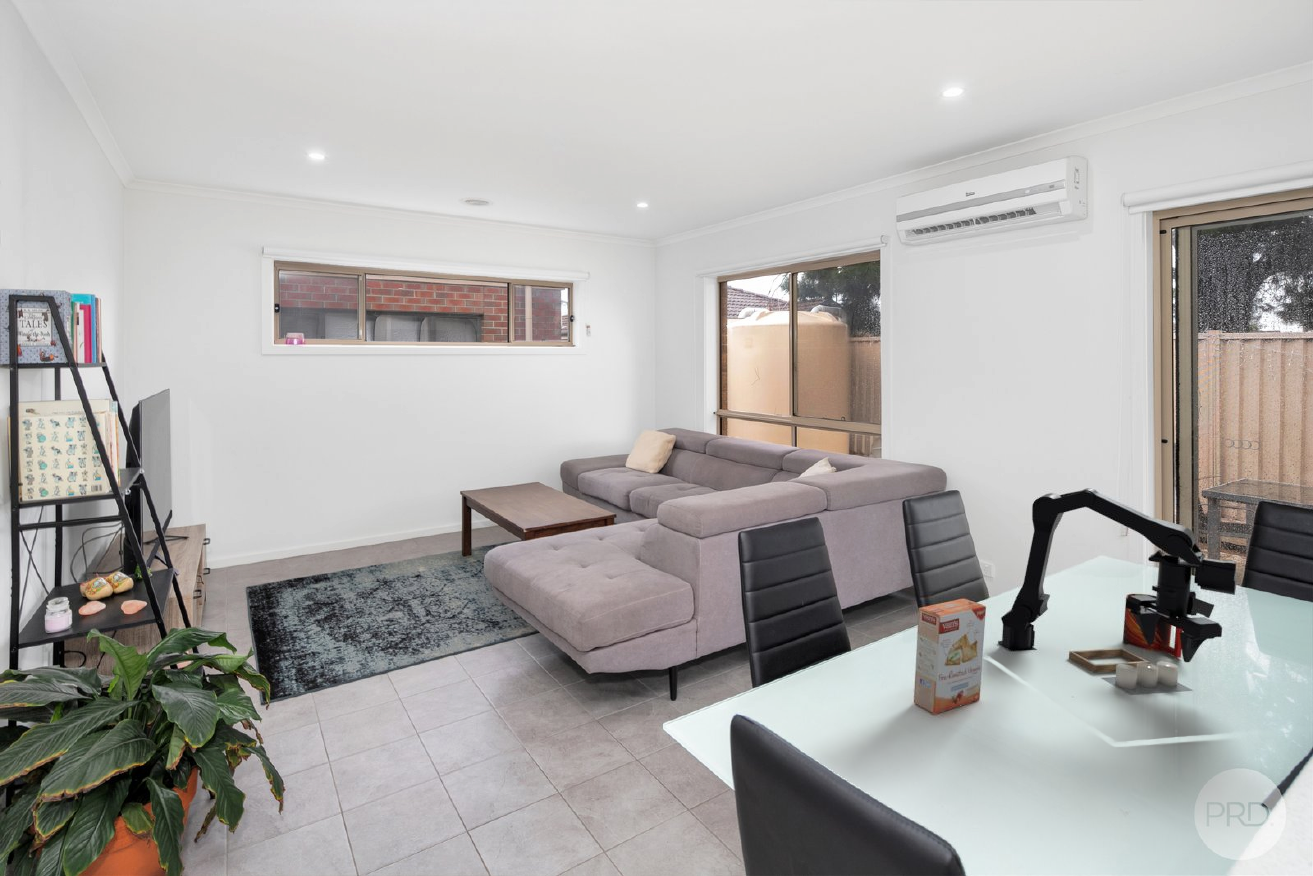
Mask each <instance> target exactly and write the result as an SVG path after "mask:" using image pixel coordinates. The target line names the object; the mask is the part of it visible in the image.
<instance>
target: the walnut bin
mask: <svg viewBox="0 0 1313 876" xmlns="http://www.w3.org/2000/svg"><path fill="white" fill-rule="evenodd" d="M1115 657H1122V658H1124V659H1126V660H1128V661H1127V662H1126V661H1125V662H1124V661H1123V662H1111V663H1097V664H1095V663H1094V662H1092V661H1090V660H1089V659H1096V658H1097V659H1099V658H1115ZM1068 659H1070V660H1071V661H1073V662H1075V663H1076V664H1078V665H1079V666H1081V667H1083V668H1085V669H1087V670H1089V671H1090V672H1092V673H1094V674H1098V673H1114V672H1115V673H1116V666H1117V665H1118V664H1126V665H1130V666H1133V667H1135V668H1137V663H1148V664H1151V661H1148V660H1147V659H1144V658H1143V657H1140V656H1138V655H1136V653H1134V652H1133V653H1132V652H1131V651H1128V650H1127V649H1124V648H1123V647H1117V648H1105V649H1104V648H1102V649H1085V650H1070V651H1068Z"/></svg>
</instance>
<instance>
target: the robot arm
mask: <svg viewBox="0 0 1313 876" xmlns="http://www.w3.org/2000/svg"><path fill="white" fill-rule="evenodd" d="M1031 505H1032V506H1031V507H1032V508H1031V521H1032V526H1033V535H1032V540H1031V544H1030V549H1029V554H1028V560H1027V565H1026V568H1025V573H1024V580H1023V584H1022V586H1021V587H1020V590H1019V591H1018V593H1017V595H1016V596H1015V600H1014V602H1013V604H1012V606H1011V609H1010V610H1009V611H1007V612H1005V614H1004V615H1002V616H1001V618H1000V620H1001V622H1002V639H1001V640H998V641H997V644H999V645H1000V646H1002V647H1004V648H1005V649H1007V650H1008V651H1010V652H1026V651H1037V650H1038V649H1037V648H1036V647H1034V646H1035V640H1036V639H1035V638H1036V637H1035V636H1036V634H1035V633H1036V630H1035V629H1034V628H1035V625H1034V624H1032V623H1034V622H1036V620H1038V619H1039V618H1040V617H1041V616H1043V615H1044V614H1045V612H1047V610H1049V608H1048V601H1049V599H1050V597H1051V594H1049V593H1048V594H1047V593H1045V592H1044V591H1045V590H1044V582H1045V578H1046V572H1047V567H1048V562H1049V558H1050V552H1051V549H1052V542H1053V539H1054V533H1055V531H1056V530H1057V527H1058V525H1059V524H1060V523H1061V520H1062V518H1063V515H1064V514H1065V513H1067V512H1071V511H1074V510H1079V509H1084V508H1088V509H1089V510H1092V511H1093V512H1095V513H1097V514H1100V515H1101V516H1104V517H1106V518H1108V519H1110V520H1112V521H1114V522H1116V523H1118V524H1120V525H1122V526H1124V527H1126V528H1129V529H1131V530H1132V531H1134V532H1136V533H1138V534H1140V535H1142V536H1143V537H1144V538H1145V539H1146V540H1147V541H1149V543H1151V544H1152V545H1154V546H1155V547H1157V548H1158V550H1156V552H1154V553H1153V554H1150V556H1149V557H1148V558H1147V559H1148V561H1149V562H1152V563H1153V562H1154V563H1158V573H1157V584H1156V585H1152V586H1151V591H1153V592H1156V595H1155V596H1156V599H1155V598H1153V597H1150V596H1148V595H1149V594H1147V595H1138V596H1129V597H1128V598H1127V599H1126V598H1125V605H1126V607H1124V609H1125V608H1128V609H1130V613H1131V614H1132V615H1133V616H1134V618H1135V620H1136V622H1137V623H1138V625H1139V627H1140V629H1141V631H1142V633H1143V636H1144V638H1145V640H1146V642H1147V644H1148V645H1153V643H1154V639H1155V631H1156V622H1157V620H1158V619H1159V618H1160V616H1163V617H1166V618H1168V619H1170V620H1173V621H1175V622H1178V623H1180V624H1181V629H1182V630H1183V632H1180V641H1181V648H1182V650H1181V656H1182V659H1183V662H1184V663H1190V662H1191V661H1192V660H1193V658H1194V656H1195V654H1196V653H1197V651H1198V650H1199V648H1200V646H1201V645H1203V643H1204V642H1205V641H1207V640H1211V639H1212V640H1213V639H1215V638H1221V637H1222V635H1223V626H1222V625H1221V624H1220V623H1219V622H1216V621H1215V620H1211V619H1210V617H1211V614H1212V613H1213V610H1214V607H1215V604H1212V603H1210V602H1207V601H1204V600H1201V599H1199V598H1197V594H1196V591H1195V590H1191V583H1192V582H1191V581H1192V571H1193V570H1192V569H1194V570H1195V571H1194V584H1196V585H1197V587H1199V588H1200V590H1205V591H1210V592H1215V593H1223V594H1227V595H1236V588H1237V582H1238V581H1237V580H1238V575H1237V562H1236V561H1232V560H1221V559H1216V558H1215V559H1213V558H1208V557H1206V554H1204V552H1203V551H1202V550H1201V548H1200V547H1199V546H1198V545H1197V543H1196V536H1195V534H1194V532H1193V531H1192V530H1191V529H1190V528H1188V527H1186V526H1184V525H1182V524H1177V523H1175V522H1170V521H1168V520H1163V519H1158V518H1155V517H1151V516H1149V515H1148V514H1147V515H1146V514H1144V513H1143V512H1141V511H1138V510H1136V509H1134V508H1132V507H1130V506H1128V505H1126V504H1123V503H1121V502H1119V501H1117V500H1115V499H1113V498H1111V497H1109V496H1107V495H1105V494H1103V493H1100V492H1098V491H1097V490H1096V489H1094V488H1090V487H1089V488H1087V487H1086V488H1084V489H1082V490H1079V491H1077V490H1076V491H1073V492H1067V493H1063V494H1057V493H1053V492H1049V493H1046V494H1044V495H1041V496H1040V497H1038V498H1036V499H1035V500H1034V501H1033V503H1032V504H1031ZM1197 614H1199V615H1201V616H1202V617H1189V616H1197ZM1203 616H1204V617H1203Z"/></svg>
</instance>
